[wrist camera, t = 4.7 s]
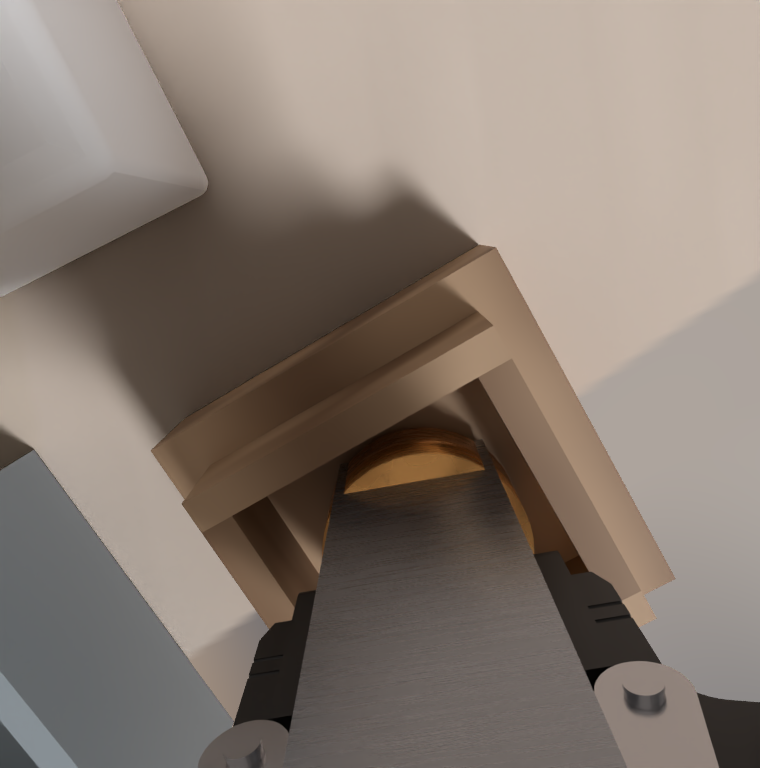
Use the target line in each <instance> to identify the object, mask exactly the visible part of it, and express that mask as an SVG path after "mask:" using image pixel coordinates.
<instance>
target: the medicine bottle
mask: <svg viewBox="0 0 760 768" xmlns="http://www.w3.org/2000/svg"><path fill="white" fill-rule="evenodd" d="M207 187H208V180H207V176H206V174H205V172H204V170H203V168H202V166H201V164H200V163H199V161H198V159H197V157H196V155H195V153H194V151H193V149H192V147H191V145H190V143H189V141H188V139H187V137H186V135H185V133H184V131H183V129H182V127H181V125H180V123H179V121H178V119H177V117H176V115H175V113H174V111H173V109H172V108H171V106H170V104H169V102H168V100H167V98H166V96H165V94H164V92H163V90H162V88H161V86H160V84H159V82H158V80H157V78H156V76H155V74H154V72H153V70H152V68H151V66H150V64H149V62H148V60H147V58H146V56H145V54H144V52H143V51H142V49H141V47H140V45H139V43H138V41H137V39H136V37H135V35H134V33H133V31H132V29H131V27H130V25H129V23H128V21H127V19H126V17H125V15H124V13H123V11H122V9H121V7H120V5H119V3H118V1H117V0H0V297H2V296H5V295H7V294H8V293H10V292H12V291H14V290H16V289H18V288H20V287H22V286H24V285H26V284H28V283H30V282H32V281H34V280H36V279H38V278H40V277H42V276H44V275H46V274H48V273H50V272H52V271H54V270H56V269H58V268H60V267H62V266H64V265H66V264H68V263H70V262H71V261H73V260H75V259H77V258H79V257H81V256H83V255H85V254H87V253H89V252H91V251H93V250H95V249H97V248H99V247H101V246H103V245H105V244H107V243H109V242H111V241H113V240H115V239H117V238H119V237H121V236H123V235H125V234H127V233H129V232H131V231H132V230H134V229H136V228H138V227H140V226H142V225H144V224H146V223H148V222H150V221H152V220H154V219H156V218H158V217H160V216H162V215H164V214H166V213H168V212H170V211H172V210H174V209H176V208H178V207H180V206H182V205H184V204H186V203H188V202H190V201H192V200H194V199H195V198H197V197H199V196H201V195H202V194H203V193H205V192H206V190H207Z"/></svg>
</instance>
